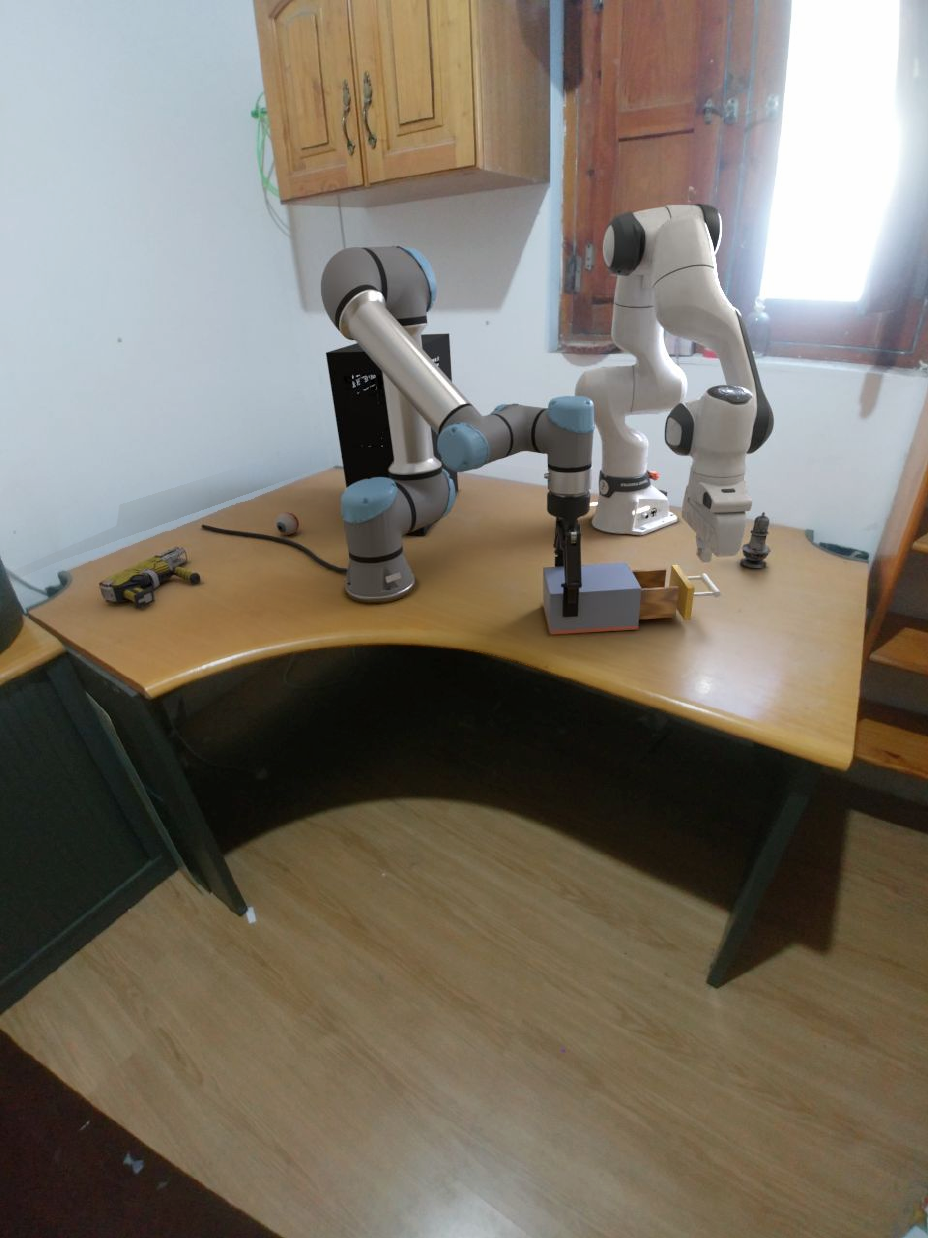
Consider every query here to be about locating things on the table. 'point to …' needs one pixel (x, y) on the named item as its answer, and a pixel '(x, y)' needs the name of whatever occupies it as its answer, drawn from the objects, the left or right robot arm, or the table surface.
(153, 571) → the toy gun
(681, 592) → the drawer
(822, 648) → the table surface
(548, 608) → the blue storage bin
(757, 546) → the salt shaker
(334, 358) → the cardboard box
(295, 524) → the eyeball
